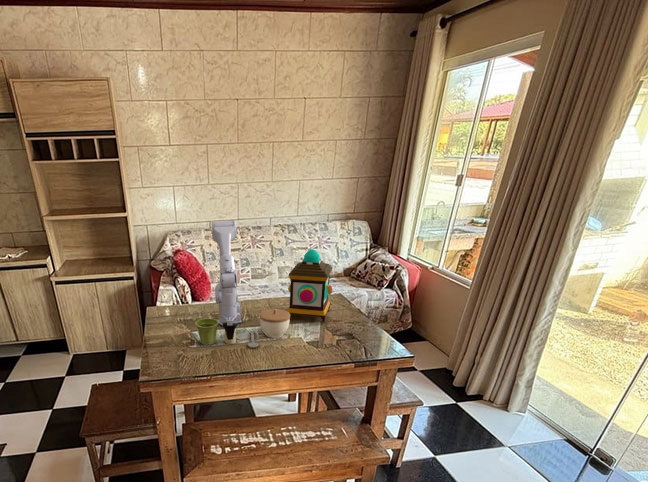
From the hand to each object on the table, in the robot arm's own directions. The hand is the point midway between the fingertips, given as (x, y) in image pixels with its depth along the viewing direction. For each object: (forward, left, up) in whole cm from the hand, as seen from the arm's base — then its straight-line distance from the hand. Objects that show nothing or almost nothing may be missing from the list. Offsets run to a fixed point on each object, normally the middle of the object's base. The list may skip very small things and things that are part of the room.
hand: (230, 335), depth 166 cm
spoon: (-8, +5, -3) cm, 10 cm away
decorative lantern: (-45, -6, -3) cm, 46 cm away
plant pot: (+8, -4, -3) cm, 10 cm away
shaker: (0, 0, -3) cm, 3 cm away
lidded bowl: (-19, +4, -3) cm, 20 cm away
